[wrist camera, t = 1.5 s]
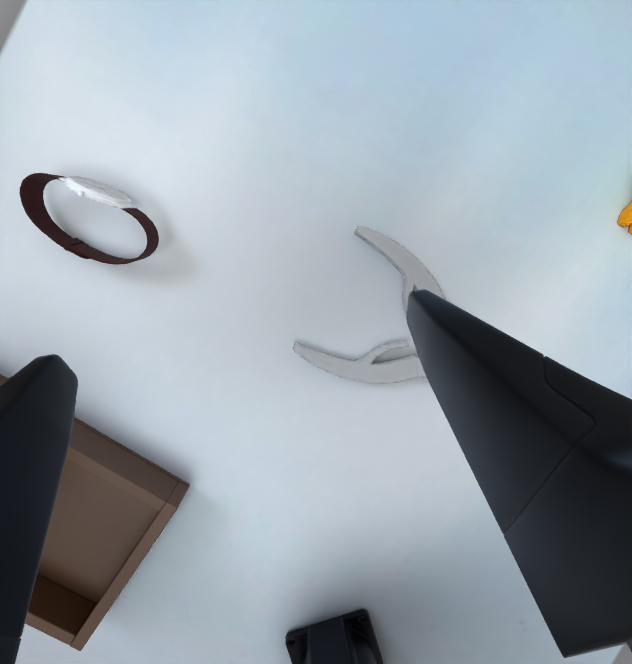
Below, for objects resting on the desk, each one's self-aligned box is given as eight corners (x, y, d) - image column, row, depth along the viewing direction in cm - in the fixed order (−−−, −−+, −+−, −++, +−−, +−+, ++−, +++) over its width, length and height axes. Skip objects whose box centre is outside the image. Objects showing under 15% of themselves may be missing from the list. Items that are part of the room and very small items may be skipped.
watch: (175, 217, 23) (154, 203, 20) (147, 283, 24) (121, 281, 20) (59, 162, 23) (15, 137, 19) (31, 231, 23) (-17, 220, 19)
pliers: (364, 218, 23) (554, 329, 24) (359, 223, 24) (538, 327, 26) (290, 355, 23) (481, 454, 25) (290, 351, 25) (470, 444, 27)
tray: (190, 484, 25) (177, 508, 23) (102, 613, 26) (80, 651, 23) (-31, 356, 23) (-74, 365, 21) (-119, 499, 24) (-173, 525, 21)
